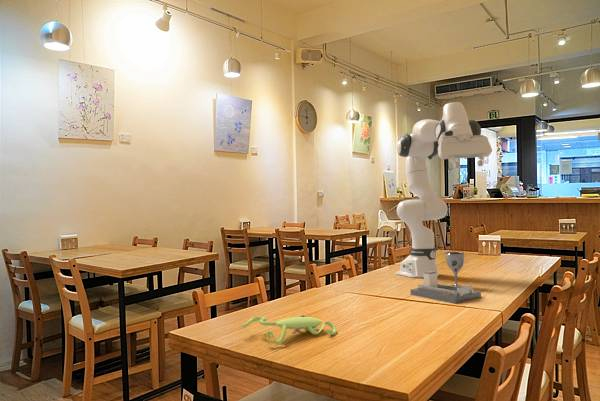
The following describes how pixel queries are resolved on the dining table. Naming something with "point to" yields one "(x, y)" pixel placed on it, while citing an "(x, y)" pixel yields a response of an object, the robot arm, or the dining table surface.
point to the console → (446, 293)
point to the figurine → (293, 326)
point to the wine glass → (455, 263)
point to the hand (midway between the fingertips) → (468, 166)
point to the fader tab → (430, 279)
